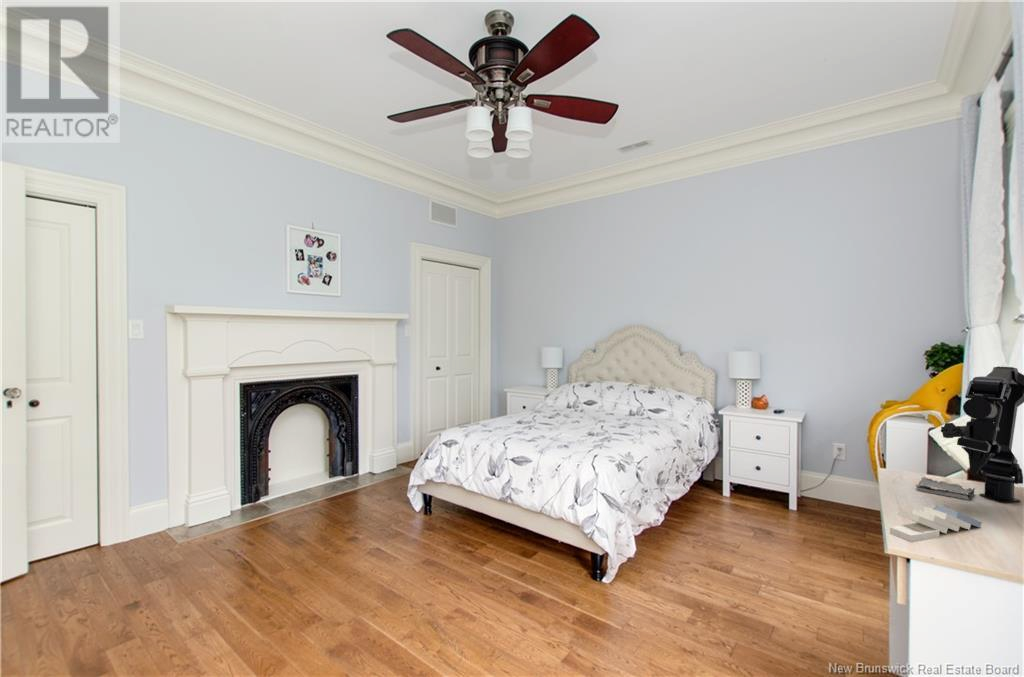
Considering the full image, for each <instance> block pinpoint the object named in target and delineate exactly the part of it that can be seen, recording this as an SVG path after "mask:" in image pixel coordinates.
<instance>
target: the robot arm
mask: <svg viewBox="0 0 1024 677" xmlns="http://www.w3.org/2000/svg"><path fill="white" fill-rule="evenodd" d="M964 398H965V399H968V400H966V401H964V403H963V405H962V410H963V412H964V413H965V415H966V416H968V417H969V418H970V420H968V421H966V425H955V423H953V422H945V423H944V425H943V426H941V427H940V432H941V433H942V437H943V438H944V439H953V438H957V441H956V445H957V446H960V447H961V448H962V449H963V451H965V453H966V454H967V455H968V464H969V473H970V474H973V475H977V474H978V477H979V478H985V479H984V480H985V481H984V493H979V495H978V496H980V497H983V498H986V499H989V500H993V501H996V502H998V503H1004V504H1006V503H1007V504H1009V503H1019V502H1021V500H1020V499H1018V498H1016V497H1015V485H1021V484H1024V475H1023V470H1022V468H1021V466H1020V464H1019V463H1018V461H1019V460H1018V459H1017V458H1016V456H1015V454H1014V453H1013V451H1012V448H1013V442H1014V434H1015V427H1016V421H1017V414H1018V413H1017V412H1018V409H1019V408H1018V407H1020V406H1021V405H1022V404H1024V374H1022V373H1021V372H1019V369H1018V368H1017V367H1013V366H993V368H992V370H991V371H990V372H989V373H988V374H987V375H986V376H975V377H973V378H972V380H970V381H969V383H968V386H967V390H966V392H965V395H964Z"/></svg>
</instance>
